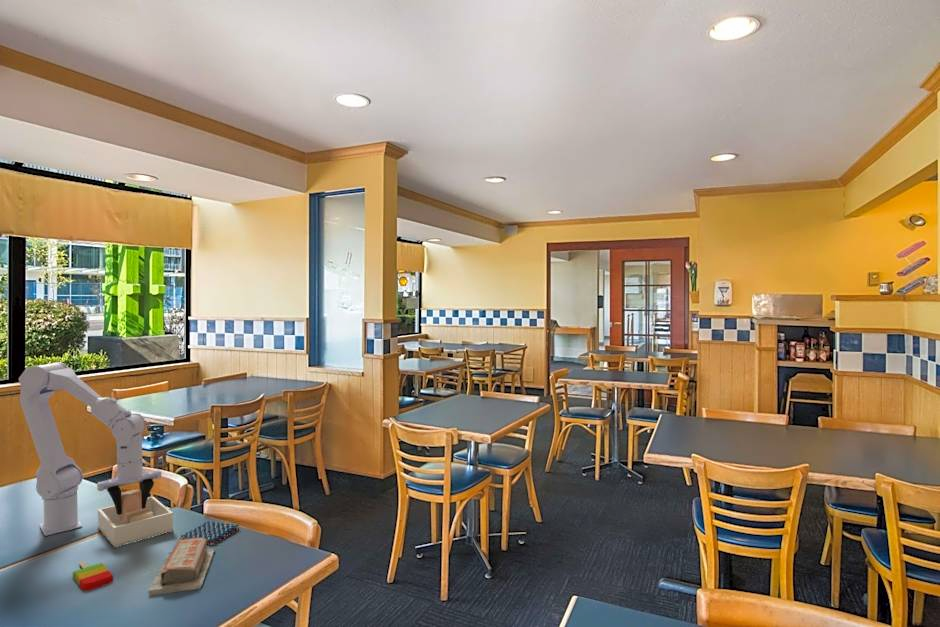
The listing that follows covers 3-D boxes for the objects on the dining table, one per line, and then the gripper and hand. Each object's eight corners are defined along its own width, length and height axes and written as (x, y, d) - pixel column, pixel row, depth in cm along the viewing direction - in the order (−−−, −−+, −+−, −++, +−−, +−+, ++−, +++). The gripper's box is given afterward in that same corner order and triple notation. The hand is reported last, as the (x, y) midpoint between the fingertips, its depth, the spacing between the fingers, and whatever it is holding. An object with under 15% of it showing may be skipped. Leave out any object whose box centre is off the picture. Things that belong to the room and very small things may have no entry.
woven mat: (207, 527, 146) (207, 519, 146) (241, 531, 143) (241, 523, 143) (177, 544, 136) (177, 535, 136) (213, 548, 133) (212, 540, 133)
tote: (98, 527, 145) (97, 509, 145) (153, 513, 154) (153, 496, 154) (114, 548, 133) (113, 527, 133) (173, 531, 142) (172, 512, 142)
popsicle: (83, 594, 113) (83, 585, 113) (66, 571, 123) (66, 562, 123) (114, 584, 117) (114, 575, 117) (95, 562, 127) (95, 554, 127)
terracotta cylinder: (118, 518, 146) (118, 492, 146) (140, 513, 150) (139, 488, 150) (122, 524, 143) (122, 497, 142) (144, 518, 146) (143, 493, 146)
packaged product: (168, 538, 128) (214, 533, 131) (168, 558, 128) (215, 553, 131) (147, 574, 111) (201, 567, 114) (147, 598, 111) (201, 590, 114)
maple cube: (125, 532, 141) (125, 513, 140) (147, 526, 144) (147, 507, 144) (131, 538, 137) (130, 518, 137) (153, 531, 141) (152, 512, 141)
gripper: (101, 469, 138) (102, 522, 138) (164, 457, 148) (165, 507, 149) (95, 464, 143) (96, 515, 143) (156, 452, 153) (157, 500, 154)
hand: (131, 510), depth 146 cm, fingers closed on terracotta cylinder, 5 cm apart
